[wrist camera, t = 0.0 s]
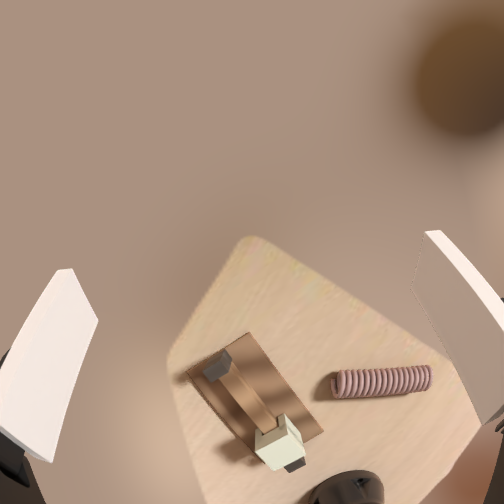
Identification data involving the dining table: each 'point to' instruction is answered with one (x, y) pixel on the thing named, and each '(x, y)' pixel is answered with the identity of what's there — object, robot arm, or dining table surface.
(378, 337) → the dining table surface
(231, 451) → the dining table surface
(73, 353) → the robot arm
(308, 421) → the track
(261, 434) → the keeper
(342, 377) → the coil
